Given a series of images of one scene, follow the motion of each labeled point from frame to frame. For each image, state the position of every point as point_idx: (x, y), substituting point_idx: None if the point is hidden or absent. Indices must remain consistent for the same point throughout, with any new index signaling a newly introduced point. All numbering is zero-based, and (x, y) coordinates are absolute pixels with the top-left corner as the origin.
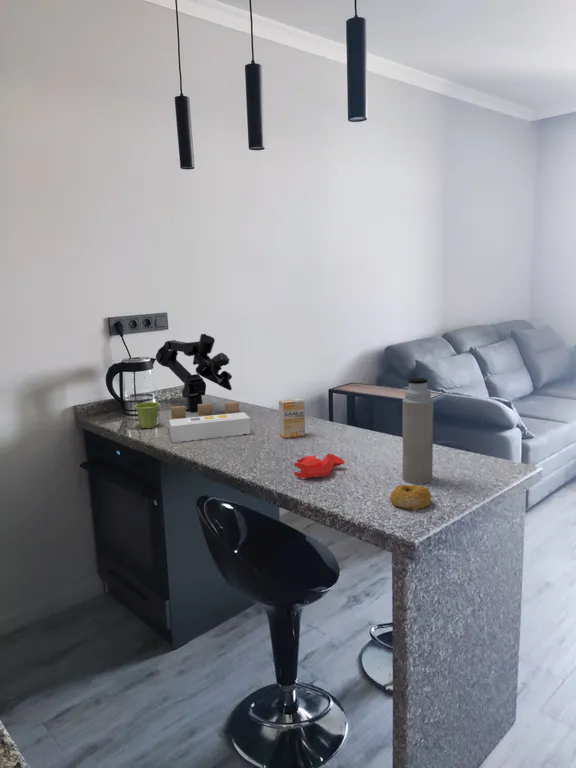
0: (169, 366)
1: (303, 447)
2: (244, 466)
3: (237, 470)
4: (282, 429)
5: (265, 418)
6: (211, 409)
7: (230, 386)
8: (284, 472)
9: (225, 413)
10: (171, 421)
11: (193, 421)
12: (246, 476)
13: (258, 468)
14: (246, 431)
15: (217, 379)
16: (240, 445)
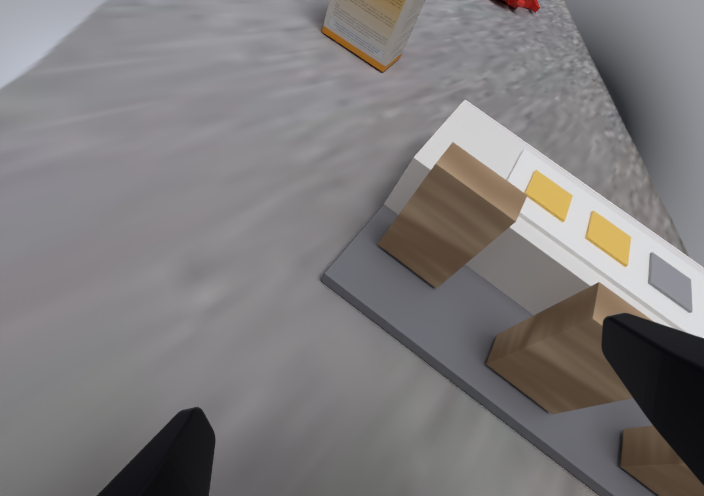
0: None
1: (420, 17)
2: (574, 83)
3: (592, 87)
4: (407, 35)
5: (164, 202)
6: (572, 299)
7: (172, 443)
8: (534, 29)
9: (472, 257)
10: None
11: (681, 266)
12: (590, 69)
13: (558, 62)
14: None
15: (685, 332)
16: (518, 134)
